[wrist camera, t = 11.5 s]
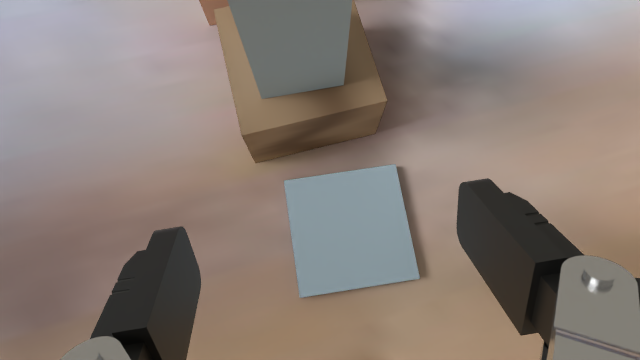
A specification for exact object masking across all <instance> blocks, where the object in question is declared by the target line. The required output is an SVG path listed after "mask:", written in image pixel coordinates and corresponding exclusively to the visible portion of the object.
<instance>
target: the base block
mask: <svg viewBox="0 0 640 360" xmlns="http://www.w3.org/2000/svg"><path fill="white" fill-rule="evenodd" d="M214 14H215V18H216V23H217V27H218V32H219V36H220V41H221V45H222V50H223V54H224V59H225V63H226V68H227V72H228V76H229V81H230V85H231V90H232V94H233V99H234V103H235V108H236V112H237V117H238V121H239V126H240V130H241V135H242V137H243V139H244V141H245V143H246V145H247V147H248V149H249V151H250V153H251V155H252V157H253V159H254V161H255V163H258V162H262V161H266V160H270V159H274V158H278V157H282V156H286V155H290V154H295V153H299V152H303V151H307V150H311V149H315V148H319V147H323V146H327V145H331V144H335V143H340V142H344V141H348V140H352V139H356V138H360V137H364V136H368V135H372V134H375V133H376V131H377V128H378V125H379V122H380V120H381V117H382V114H383V111H384V109H385V106H386V103H387V98H386V95H385V92H384V89H383V86H382V83H381V80H380V77H379V74H378V71H377V68H376V65H375V62H374V59H373V56H372V53H371V50H370V47H369V44H368V41H367V38H366V35H365V32H364V29H363V26H362V23H361V20H360V17H359V14H358V11H357V8H356V5H355V2H354V0H352V9H351V19H350V29H349V39H348V48H347V58H346V68H345V78H344V85H341V86H336V87H330V88H324V89H318V90H312V91H306V92H300V93H295V94H289V95H283V96H277V97H271V98H265V99H262V98H261V96H260V93H259V90H258V87H257V84H256V81H255V78H254V75H253V73H252V70H251V67H250V64H249V61H248V58H247V55H246V53H245V50H244V47H243V44H242V41H241V38H240V35H239V32H238V30H237V27H236V24H235V21H234V18H233V15H232V12H231V9H230V7H229V6H228V7H223V8H218V9H214Z"/></svg>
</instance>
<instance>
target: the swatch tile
mask: <svg viewBox="0 0 640 360" xmlns="http://www.w3.org/2000/svg"><path fill="white" fill-rule="evenodd" d="M284 185H285V192H286V200H287V207H288V215H289V222H290V229H291V237H292V244H293V251H294V259H295V266H296V274H297V281H298V288H299V296H300V298H302V297H308V296H315V295H321V294H327V293H333V292H339V291H346V290H352V289H358V288H364V287H371V286H377V285H383V284H389V283H396V282H402V281H408V280H414V279H420V276H419V272H418V267H417V262H416V258H415V253H414V248H413V244H412V239H411V234H410V230H409V225H408V220H407V216H406V211H405V206H404V202H403V197H402V192H401V188H400V183H399V178H398V173H397V169H396V164H393V165H386V166H380V167H373V168H366V169H359V170H353V171H346V172H339V173H332V174H326V175H319V176H312V177H305V178H298V179H292V180H285V181H284Z"/></svg>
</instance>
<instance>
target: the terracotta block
mask: <svg viewBox="0 0 640 360" xmlns="http://www.w3.org/2000/svg"><path fill="white" fill-rule="evenodd" d="M199 1H200V3H201V6H202V8H203V11H204V13H205V16H206V18H207V20H208V23H209V25H216V24H217V23H216V18H215V14H214V9H218V8H223V7H228V6H229V4H228V1H227V0H199Z"/></svg>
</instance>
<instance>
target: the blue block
mask: <svg viewBox="0 0 640 360" xmlns="http://www.w3.org/2000/svg"><path fill="white" fill-rule="evenodd" d="M227 1H228V4H229V7H230V9H231V12H232V15H233V18H234V21H235V24H236V27H237V30H238V32H239V35H240V38H241V41H242V44H243V47H244V50H245V53H246V55H247V58H248V61H249V64H250V67H251V70H252V73H253V75H254V78H255V81H256V84H257V87H258V90H259V93H260V96H261V98H262V99H265V98H271V97H277V96H283V95H289V94H295V93H300V92H306V91H312V90H318V89H324V88H330V87H336V86H341V85H344V78H345V68H346V58H347V48H348V39H349V29H350V19H351V9H352V0H227Z"/></svg>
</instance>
